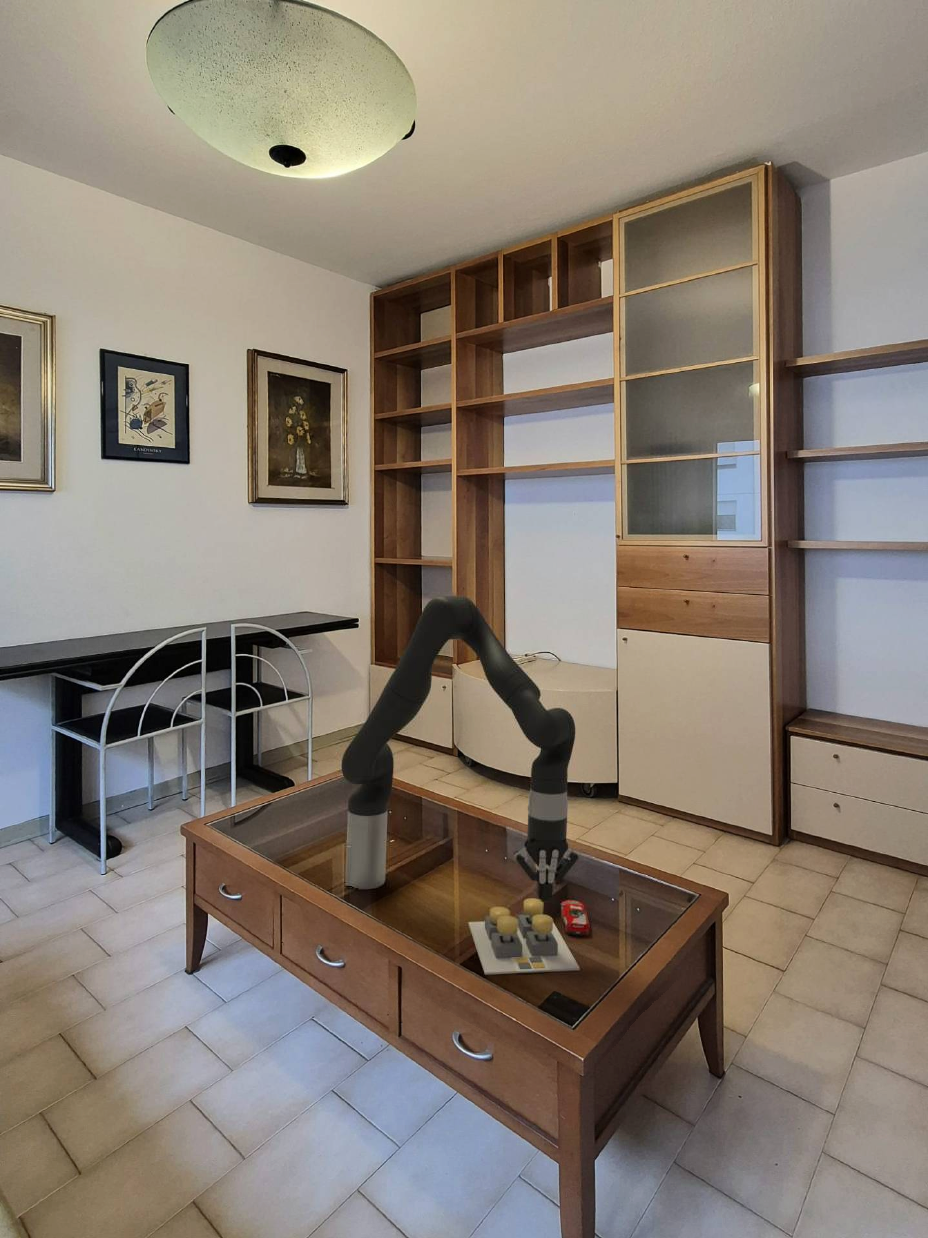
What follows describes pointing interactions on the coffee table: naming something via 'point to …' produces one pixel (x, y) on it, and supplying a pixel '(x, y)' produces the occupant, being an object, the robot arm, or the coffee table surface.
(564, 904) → the race car
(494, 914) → the button back left
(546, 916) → the button front right
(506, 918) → the button front left
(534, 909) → the button back right
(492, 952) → the board
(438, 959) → the coffee table surface
